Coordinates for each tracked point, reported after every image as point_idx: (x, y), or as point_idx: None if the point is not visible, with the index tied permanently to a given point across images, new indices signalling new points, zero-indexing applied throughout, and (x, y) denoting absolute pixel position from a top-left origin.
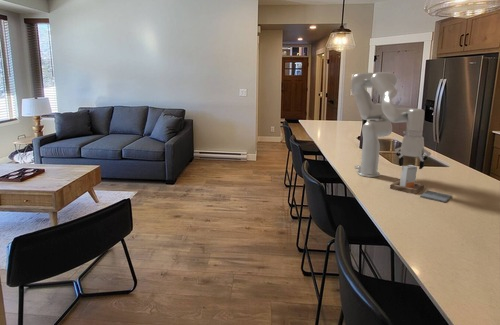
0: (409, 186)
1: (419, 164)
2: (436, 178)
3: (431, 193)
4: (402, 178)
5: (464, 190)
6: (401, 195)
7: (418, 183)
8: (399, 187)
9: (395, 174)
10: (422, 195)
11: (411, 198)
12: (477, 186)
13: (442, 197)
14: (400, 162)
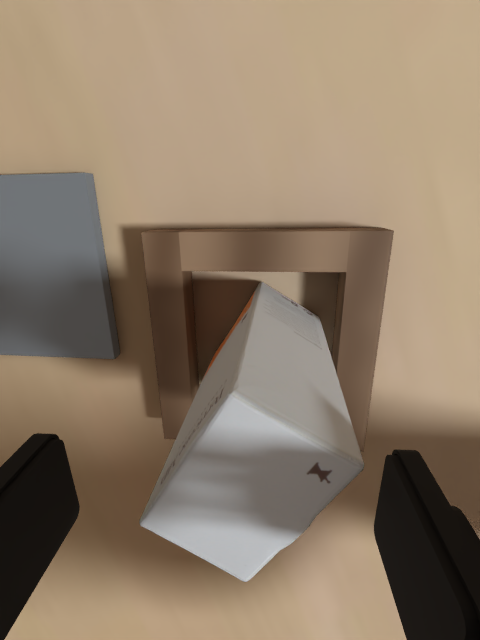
0: (233, 326)
1: (1, 503)
2: (202, 632)
3: (58, 299)
4: (304, 338)
5: None
6: (221, 84)
7: None
8: (293, 231)
9: None
10: (73, 189)
11: (120, 66)
12: None
13: None
14: (433, 512)
